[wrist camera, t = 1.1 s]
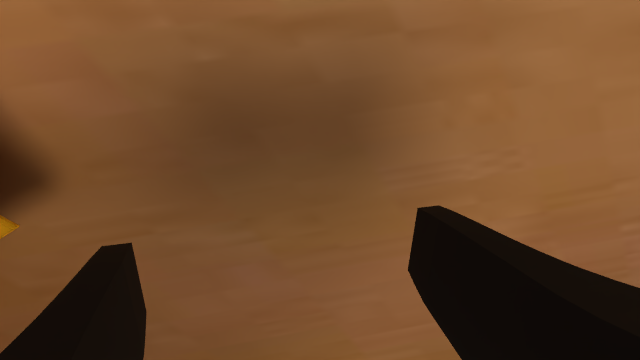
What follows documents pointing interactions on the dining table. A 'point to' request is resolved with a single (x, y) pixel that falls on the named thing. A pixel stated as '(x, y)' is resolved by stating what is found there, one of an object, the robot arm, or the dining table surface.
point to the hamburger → (6, 226)
